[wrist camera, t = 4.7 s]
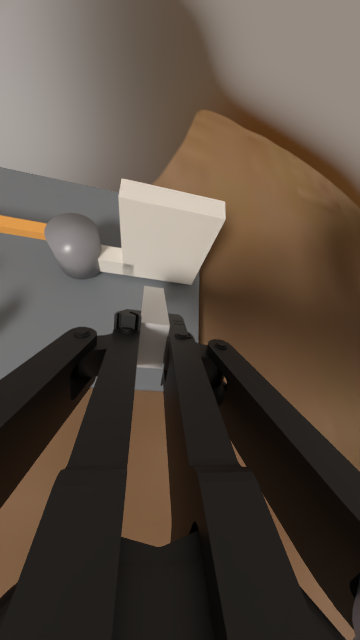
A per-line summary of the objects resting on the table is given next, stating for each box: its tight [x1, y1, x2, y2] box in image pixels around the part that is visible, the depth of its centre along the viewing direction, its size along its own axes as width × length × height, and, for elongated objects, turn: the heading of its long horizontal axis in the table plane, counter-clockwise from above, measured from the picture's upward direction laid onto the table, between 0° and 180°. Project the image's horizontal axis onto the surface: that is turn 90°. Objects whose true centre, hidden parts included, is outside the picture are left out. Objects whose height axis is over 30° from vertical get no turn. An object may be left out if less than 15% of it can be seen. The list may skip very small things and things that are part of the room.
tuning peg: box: [0, 179, 226, 285], centre depth 17 cm, size 22×4×9 cm, turn 87°
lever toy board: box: [0, 167, 199, 392], centre depth 19 cm, size 24×22×8 cm
